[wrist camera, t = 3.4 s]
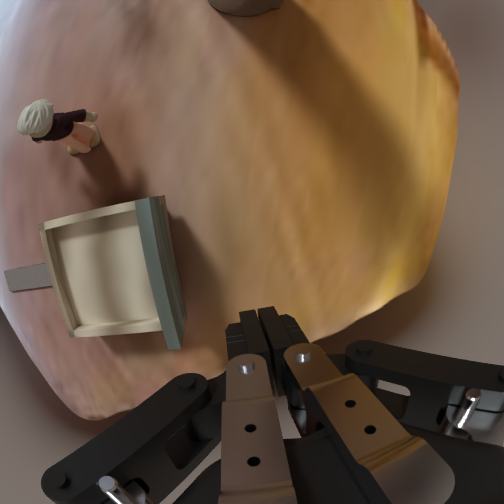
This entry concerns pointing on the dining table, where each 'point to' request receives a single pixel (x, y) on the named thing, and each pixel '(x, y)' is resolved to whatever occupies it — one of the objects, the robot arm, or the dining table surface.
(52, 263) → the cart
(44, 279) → the strip
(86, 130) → the grandmother figurine
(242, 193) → the dining table surface
